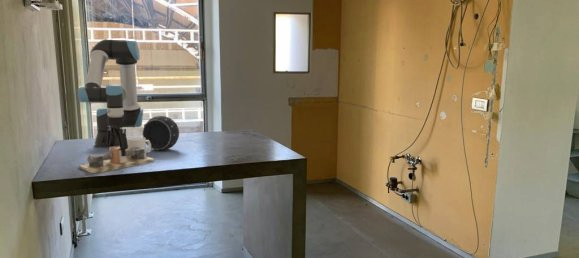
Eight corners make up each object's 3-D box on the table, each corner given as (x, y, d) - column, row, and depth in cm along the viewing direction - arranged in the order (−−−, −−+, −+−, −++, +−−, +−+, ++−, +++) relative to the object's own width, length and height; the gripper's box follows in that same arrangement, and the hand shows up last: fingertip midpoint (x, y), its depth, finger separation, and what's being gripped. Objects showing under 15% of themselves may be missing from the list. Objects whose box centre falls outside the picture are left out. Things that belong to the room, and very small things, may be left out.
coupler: (109, 162, 216) (109, 148, 215) (120, 160, 221) (120, 146, 220) (114, 163, 213) (113, 149, 212) (125, 161, 218) (124, 147, 217)
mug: (145, 153, 245) (144, 135, 243) (155, 156, 238) (154, 137, 236) (122, 157, 235) (121, 138, 233) (132, 160, 228) (131, 141, 226)
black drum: (173, 153, 246) (172, 118, 243) (140, 151, 250) (139, 116, 246) (181, 149, 256) (180, 115, 253) (150, 147, 260) (149, 114, 257)
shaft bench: (93, 173, 201) (92, 159, 200) (79, 168, 210) (78, 155, 209) (153, 161, 225) (153, 149, 224) (138, 157, 234) (138, 145, 233)
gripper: (97, 114, 217) (99, 158, 221) (120, 119, 204) (122, 165, 208) (111, 113, 223) (113, 156, 227) (134, 117, 210) (136, 163, 213)
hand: (117, 161), depth 217 cm, fingers open, 9 cm apart
